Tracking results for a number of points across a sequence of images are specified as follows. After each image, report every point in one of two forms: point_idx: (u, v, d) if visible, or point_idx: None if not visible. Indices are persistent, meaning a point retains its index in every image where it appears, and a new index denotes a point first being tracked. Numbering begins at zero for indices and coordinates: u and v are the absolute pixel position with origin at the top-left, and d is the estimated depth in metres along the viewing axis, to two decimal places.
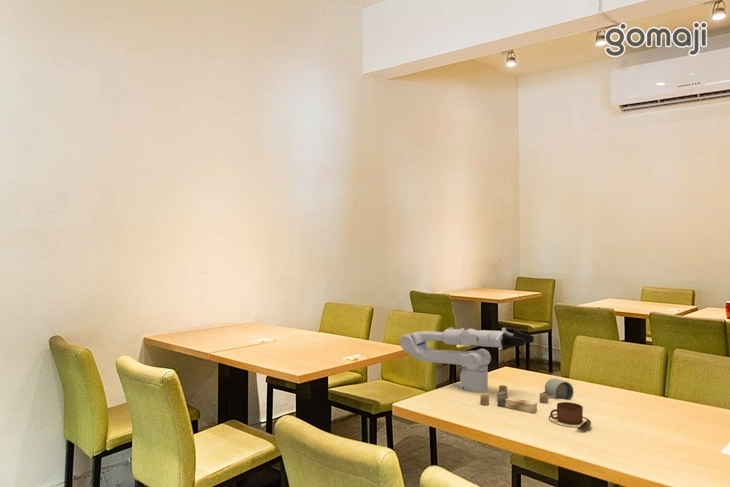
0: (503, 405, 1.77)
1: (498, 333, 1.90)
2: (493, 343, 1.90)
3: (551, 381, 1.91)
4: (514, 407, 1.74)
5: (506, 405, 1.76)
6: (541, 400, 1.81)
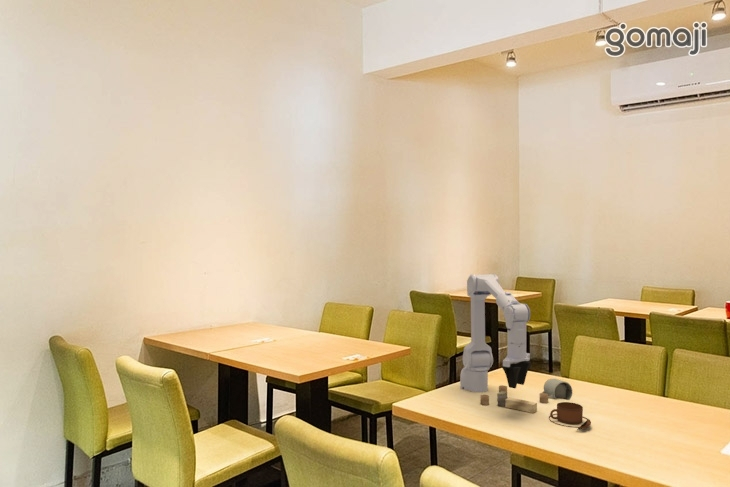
0: (503, 405, 1.77)
1: (520, 355, 1.67)
2: (509, 348, 1.68)
3: (550, 381, 1.91)
4: (514, 407, 1.74)
5: (506, 405, 1.76)
6: (541, 400, 1.81)
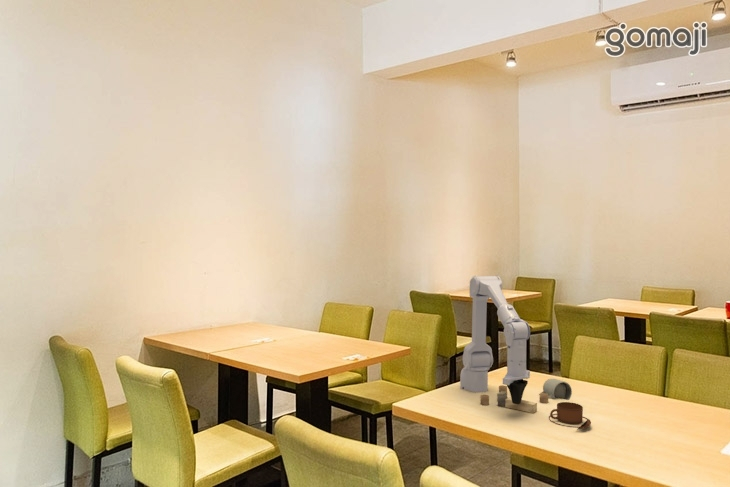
0: (503, 405, 1.77)
1: (520, 373, 1.67)
2: (509, 366, 1.68)
3: (549, 381, 1.90)
4: (514, 407, 1.74)
5: (506, 405, 1.76)
6: (541, 400, 1.81)
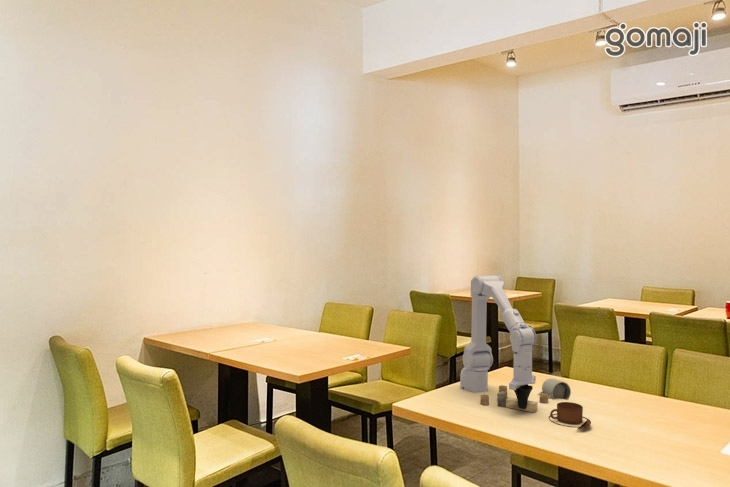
0: (503, 405, 1.77)
1: (526, 378, 1.70)
2: (515, 371, 1.72)
3: (548, 381, 1.90)
4: (515, 407, 1.75)
5: (507, 405, 1.76)
6: (541, 400, 1.81)
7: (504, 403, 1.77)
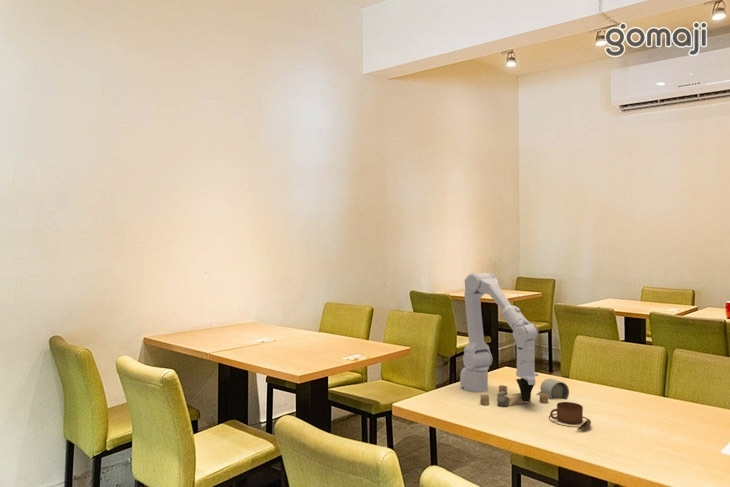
0: (507, 404, 1.77)
1: (533, 371, 1.78)
2: (523, 367, 1.77)
3: (546, 381, 1.90)
4: (516, 402, 1.79)
5: (510, 403, 1.78)
6: (541, 400, 1.81)
7: (507, 402, 1.78)
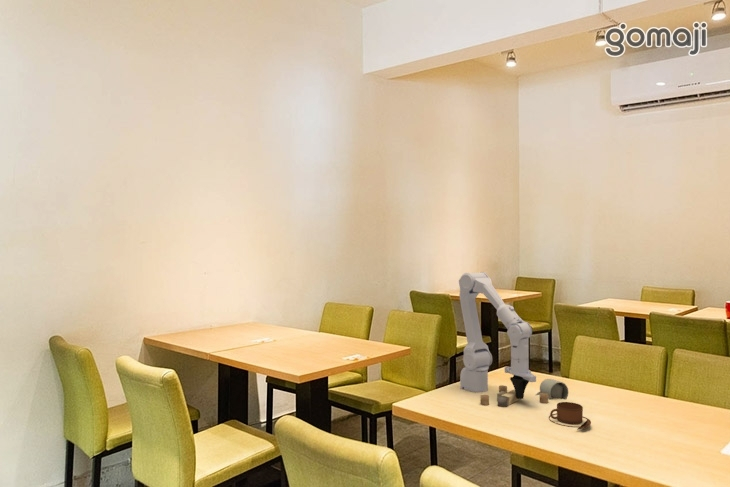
0: None
1: (528, 368, 1.82)
2: (521, 365, 1.80)
3: (546, 381, 1.90)
4: (512, 401, 1.81)
5: (509, 402, 1.79)
6: (541, 400, 1.81)
7: None
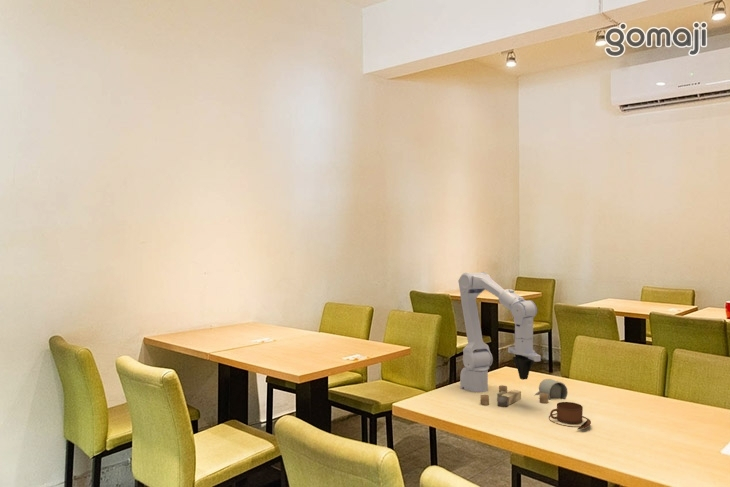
0: None
1: (532, 348, 1.77)
2: (525, 344, 1.75)
3: (545, 381, 1.90)
4: (512, 401, 1.81)
5: (509, 402, 1.79)
6: (541, 400, 1.81)
7: None
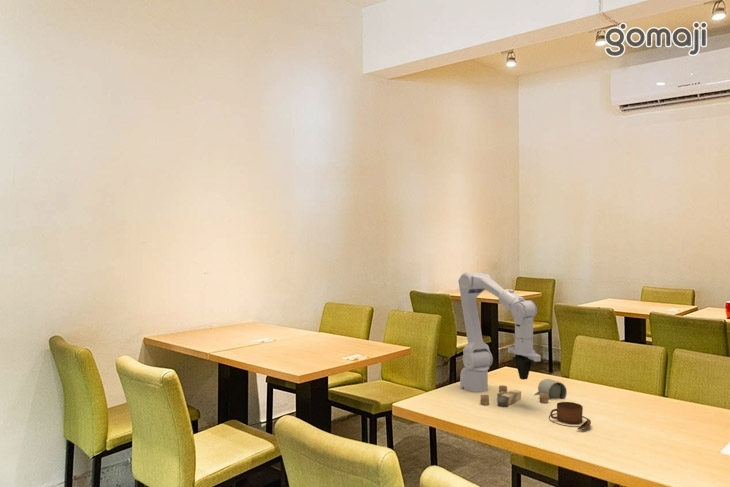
0: None
1: (532, 348, 1.77)
2: (525, 344, 1.75)
3: (544, 381, 1.90)
4: (512, 401, 1.81)
5: (509, 402, 1.79)
6: (541, 400, 1.81)
7: None
